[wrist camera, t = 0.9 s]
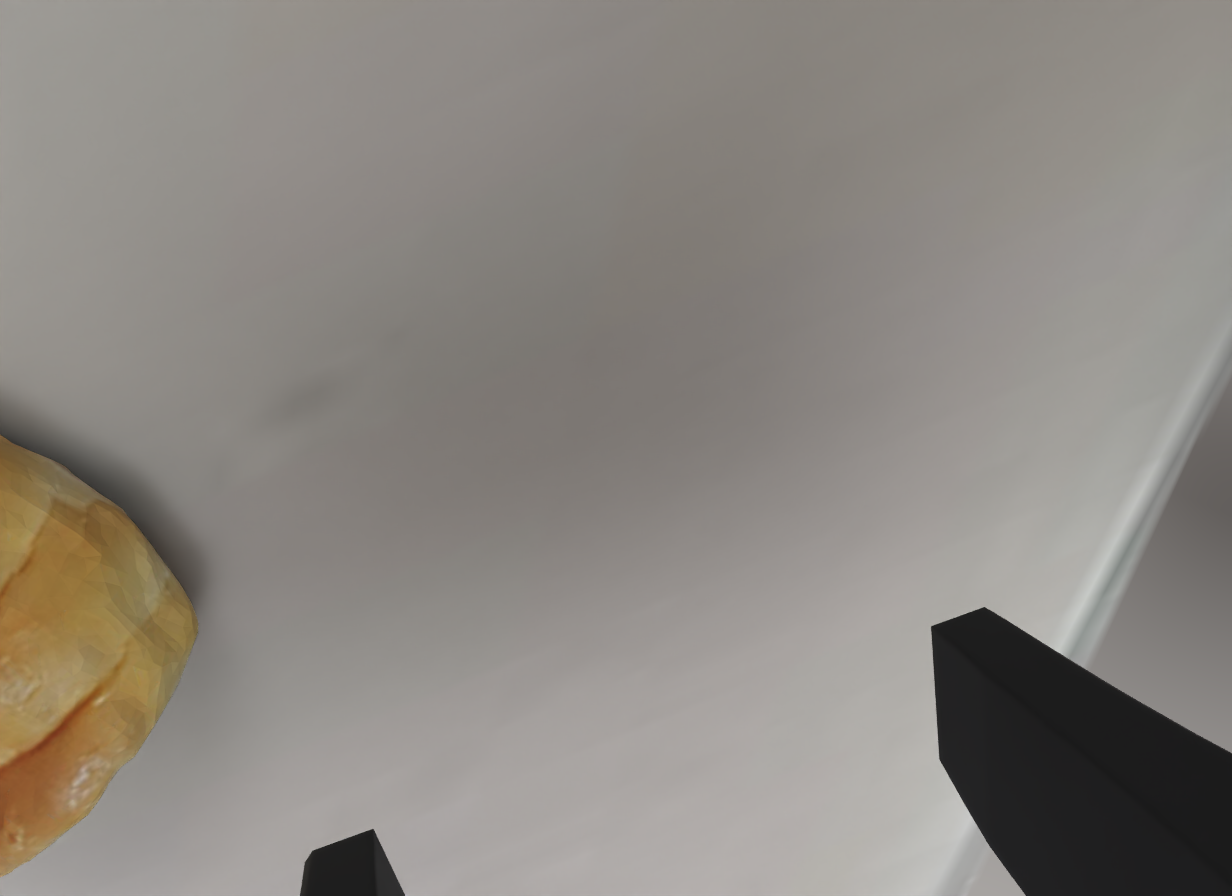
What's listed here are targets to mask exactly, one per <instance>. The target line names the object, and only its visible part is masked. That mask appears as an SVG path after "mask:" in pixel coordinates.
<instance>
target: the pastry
mask: <svg viewBox="0 0 1232 896" xmlns="http://www.w3.org/2000/svg"><path fill="white" fill-rule="evenodd" d="M197 633H198V620H197V617H196V614H195V611H194V609H193V606H192V604H191V602H190V600H189V598H188V596H187V595H186V593H185V591H184V589H183V588H182V586H181V585H180V583H179V582H178V580H177V579H176V578H175V576H174V575H173V574H172V572H171V571H170V570H169V568H168V567H167V566H166V564H165V563H164V562H163V560H162V559H161V558H160V556H159V555H158V554H157V552H156V551H155V549H154V548H153V547H152V545H151V544H150V543H149V541H148V540H147V539H146V537H145V536H144V535H143V534H142V532H141V531H140V530H139V528H138V527H137V526H136V525H135V524H134V522H133V521H132V520H131V519H130V518H129V517H128V516H127V515H126V513H125V512H124V510H123V509H122V508H120V507H119V506H117V505H116V504H115V503H113V502H112V501H110V500H109V499H107V498H106V497H104V496H103V495H101V494H100V493H98V492H97V491H95V490H94V489H93V488H91V487H90V486H88V485H87V484H86V483H84V482H83V481H81V480H80V479H79V478H77V477H76V476H75V475H73V474H72V473H71V472H70V470H69V469H68V468H67V467H65V466H64V465H62V464H60V463H57V462H55V461H53V460H51V459H49V458H46V457H44V456H41V455H39V454H37V453H34V452H32V451H29V450H27V449H25V448H22V447H20V446H17V445H15V444H13V443H12V442H10V441H9V440H7V439H6V438H4V437H3V436H1V435H0V877H2V876H4V875H6V874H8V873H10V872H12V871H13V870H14V869H15V868H17V867H18V866H20V865H22V864H24V863H26V862H28V861H30V860H31V859H32V858H34V857H35V856H36V855H37V854H39V853H40V852H41V851H43V850H44V849H46V848H47V847H48V846H50V845H51V844H52V843H54V842H55V841H56V840H57V839H58V838H59V837H61V836H62V835H63V834H64V833H65V832H66V831H68V830H69V829H70V828H72V827H73V826H74V825H76V824H77V823H78V822H79V821H81V820H82V819H83V818H85V817H86V816H87V815H88V814H89V813H90V811H91V810H92V809H93V808H94V806H95V805H96V804H97V802H98V801H99V799H100V798H101V796H102V794H103V793H104V791H105V789H106V788H107V786H108V784H109V782H110V781H111V780H112V778H113V777H114V775H115V774H116V773H117V771H118V770H119V768H121V767H122V766H123V765H124V764H126V763H127V762H128V761H130V760H131V759H132V758H133V757H135V755H136V754H137V752H138V751H139V749H140V748H141V746H142V744H143V743H144V741H145V740H146V738H147V737H148V735H149V734H150V732H151V730H152V729H153V727H154V726H155V724H156V722H157V721H158V719H159V717H160V716H161V714H162V712H163V710H164V709H165V707H166V705H167V703H168V702H169V700H170V698H171V696H172V695H173V693H174V691H175V689H176V687H177V685H178V684H179V681H180V679H181V676H182V673H183V671H184V668H185V666H186V663H187V660H188V658H189V655H190V653H191V650H192V647H193V644H194V642H195V639H196V636H197Z"/></svg>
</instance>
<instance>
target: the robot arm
mask: <svg viewBox="0 0 1232 896" xmlns="http://www.w3.org/2000/svg"><path fill="white" fill-rule="evenodd" d="M931 631H932V647H933V664H934V680H935V696H936V712H937V728H938V744H939V759H940V761H941V763H942V765H943V766H944V768H945V770H946V772H947V774H948V775H949V777H950V779H951V781H952V782H953V784H954V786H955V788H956V790H957V791H958V793H959V795H960V797H961V798H962V800H963V802H964V804H965V806H966V807H967V809H968V811H969V812H970V814H971V816H972V817H973V819H974V821H975V822H976V824H977V826H978V827H979V829H980V831H981V833H982V834H983V836H984V838H985V839H986V841H987V843H988V844H989V846H990V847H991V849H992V850H993V851H994V853H995V854H996V855H997V857H998V858H999V860H1000V861H1001V862H1002V864H1003V865H1004V866H1005V868H1006V869H1007V870H1008V872H1009V873H1010V875H1011V876H1012V877H1013V879H1014V880H1015V881H1016V883H1017V884H1018V885H1019V887H1020V888H1021V889H1022V891H1023V892H1024V894H1025V895H1026V896H1232V753H1230V752H1228V751H1227V750H1225V749H1223V748H1221V747H1219V746H1217V745H1216V744H1213V743H1212V742H1210V741H1208V740H1206V739H1204V738H1203V737H1201V736H1199V735H1196V734H1195V733H1193V732H1192V731H1190V730H1188V729H1186V728H1184V727H1183V726H1181V725H1179V724H1178V723H1176V722H1174V721H1172V720H1171V719H1169V718H1167V717H1165V716H1164V715H1162V714H1160V713H1158V712H1156V711H1155V710H1153V709H1151V708H1150V707H1148V706H1146V705H1144V704H1142V703H1141V702H1139V701H1137V700H1136V699H1134V698H1132V697H1130V696H1129V695H1127V694H1125V693H1124V692H1122V691H1120V690H1118V689H1117V688H1115V687H1114V686H1112V685H1110V684H1109V683H1107V682H1105V681H1104V680H1102V679H1100V678H1098V677H1097V676H1095V675H1094V674H1092V673H1091V672H1089V671H1087V670H1086V669H1084V668H1082V667H1081V666H1079V665H1077V664H1076V663H1074V662H1073V661H1071V660H1069V659H1068V658H1066V657H1064V656H1063V655H1061V654H1060V653H1058V652H1056V651H1055V650H1053V649H1052V648H1050V647H1048V646H1047V645H1045V644H1044V643H1042V642H1040V641H1039V640H1037V639H1036V638H1034V637H1032V636H1031V635H1029V634H1028V633H1026V632H1025V631H1023V630H1021V629H1020V628H1018V627H1017V626H1015V625H1013V624H1012V623H1010V622H1009V621H1007V620H1005V619H1004V618H1002V617H1001V616H999V615H997V614H996V613H994V612H992V611H990V610H989V609H987V608H985V607H983V608H981V609H978V610H975V611H972V612H970V613H967V614H964V615H961V616H959V617H956V618H953V619H950V620H948V621H945V622H942V623H939V624H936V625H934V626H931ZM300 896H405V894H404V892H403V890H402V888H401V886H400V884H399V882H398V880H397V877H396V875H395V873H394V871H393V869H392V867H391V865H390V863H389V861H388V859H387V857H386V854H385V852H384V850H383V848H382V846H381V844H380V842H379V840H378V838H377V836H376V833H375V831H374V829H371V830H369V831H366V832H363V833H360V834H358V835H355V836H352V837H349V838H347V839H344V840H341V841H338V842H336V843H333V844H330V845H327V846H325V847H322V848H319V849H316V850H314V851H312V852H311V854H310V856H309V857H308V859H307V860H306V862H305V866H304V873H303V880H302V887H301V893H300Z"/></svg>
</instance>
